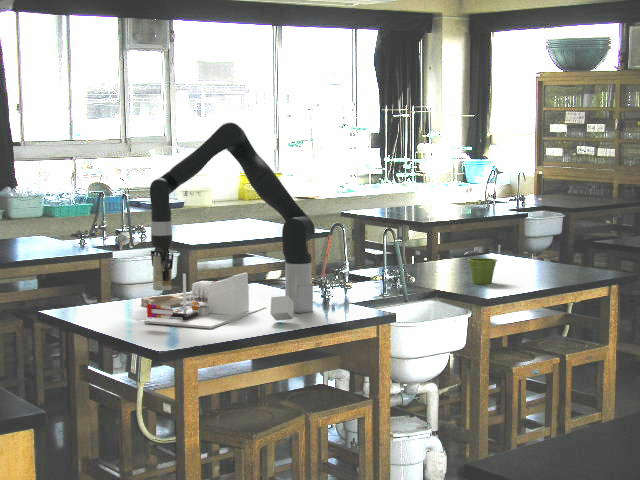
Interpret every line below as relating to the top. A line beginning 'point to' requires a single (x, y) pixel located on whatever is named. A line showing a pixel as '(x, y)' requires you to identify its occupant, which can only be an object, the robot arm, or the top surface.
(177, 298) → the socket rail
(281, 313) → the grey cube
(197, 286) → the electronics kit
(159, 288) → the skincare box
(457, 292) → the top surface
